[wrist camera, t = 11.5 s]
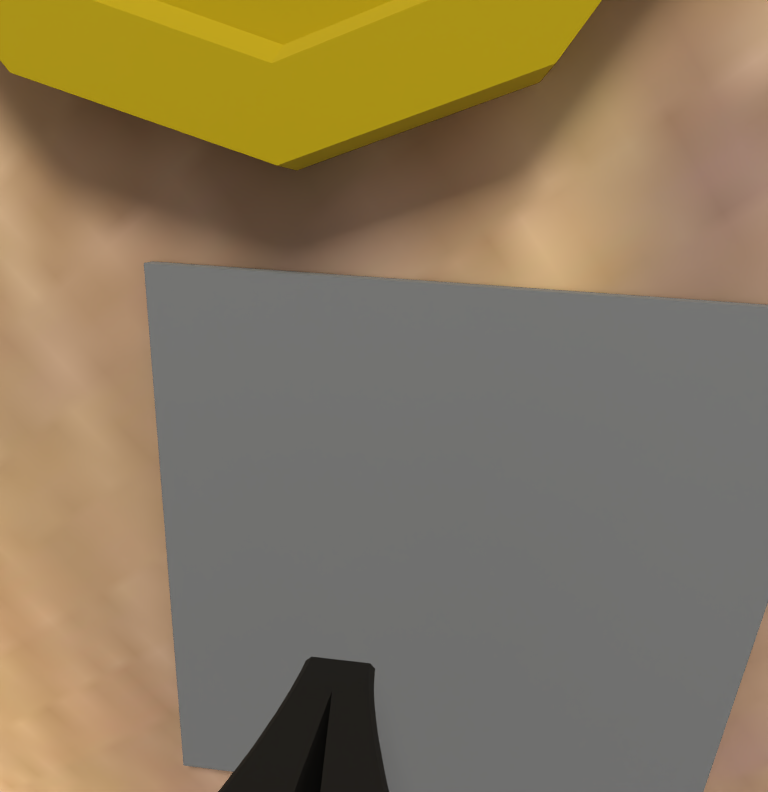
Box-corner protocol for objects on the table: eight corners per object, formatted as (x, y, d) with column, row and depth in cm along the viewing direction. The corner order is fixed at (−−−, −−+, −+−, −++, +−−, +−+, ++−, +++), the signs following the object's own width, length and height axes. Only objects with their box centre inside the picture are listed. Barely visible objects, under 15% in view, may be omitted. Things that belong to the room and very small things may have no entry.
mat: (684, 817, 18) (690, 830, 17) (188, 753, 19) (183, 765, 18) (852, 310, 12) (866, 313, 12) (152, 261, 13) (143, 263, 13)
